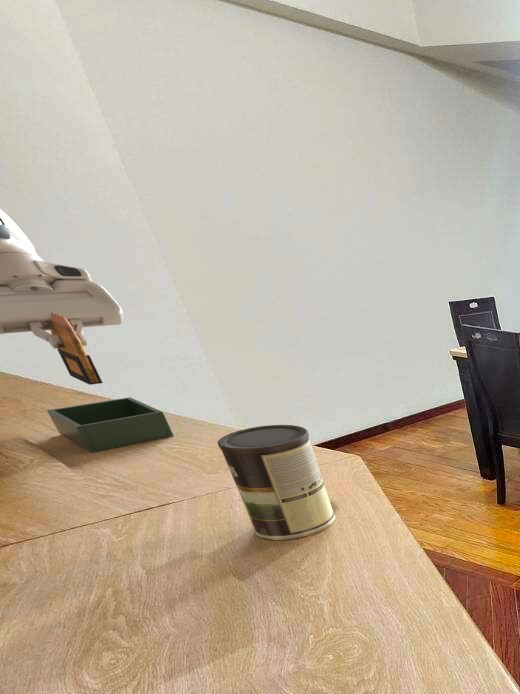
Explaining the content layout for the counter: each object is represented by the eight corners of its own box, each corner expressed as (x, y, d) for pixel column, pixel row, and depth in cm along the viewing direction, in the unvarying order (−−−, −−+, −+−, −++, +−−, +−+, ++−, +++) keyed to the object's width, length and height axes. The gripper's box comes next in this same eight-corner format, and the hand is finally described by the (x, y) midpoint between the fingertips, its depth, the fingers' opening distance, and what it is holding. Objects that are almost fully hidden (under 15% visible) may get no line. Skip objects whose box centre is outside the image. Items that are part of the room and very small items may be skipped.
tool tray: (90, 452, 110) (76, 427, 108) (60, 434, 118) (46, 410, 115) (173, 435, 120) (162, 411, 117) (141, 420, 127) (130, 397, 124)
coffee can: (249, 546, 84) (209, 452, 76) (261, 516, 91) (225, 428, 84) (334, 533, 88) (303, 442, 81) (338, 505, 96) (310, 421, 89)
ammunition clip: (69, 375, 115) (36, 309, 109) (82, 373, 116) (50, 308, 110) (89, 384, 110) (56, 316, 104) (103, 383, 112) (70, 315, 106)
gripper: (-67, 272, 99) (-16, 341, 100) (96, 268, 115) (139, 328, 115) (-57, 298, 104) (-9, 364, 104) (99, 291, 119) (140, 348, 119)
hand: (70, 345), depth 110 cm, fingers closed on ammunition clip, 2 cm apart
